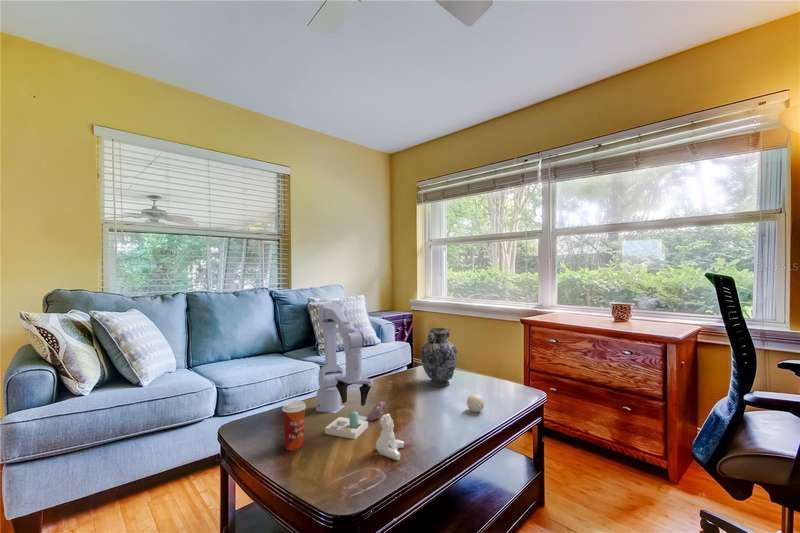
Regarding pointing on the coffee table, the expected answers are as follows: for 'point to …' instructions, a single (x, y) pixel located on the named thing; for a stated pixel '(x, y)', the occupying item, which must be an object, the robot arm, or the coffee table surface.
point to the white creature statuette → (388, 439)
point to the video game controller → (377, 411)
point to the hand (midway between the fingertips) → (353, 403)
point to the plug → (353, 419)
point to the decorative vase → (439, 357)
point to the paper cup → (294, 424)
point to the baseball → (475, 403)
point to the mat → (362, 418)
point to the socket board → (345, 428)
